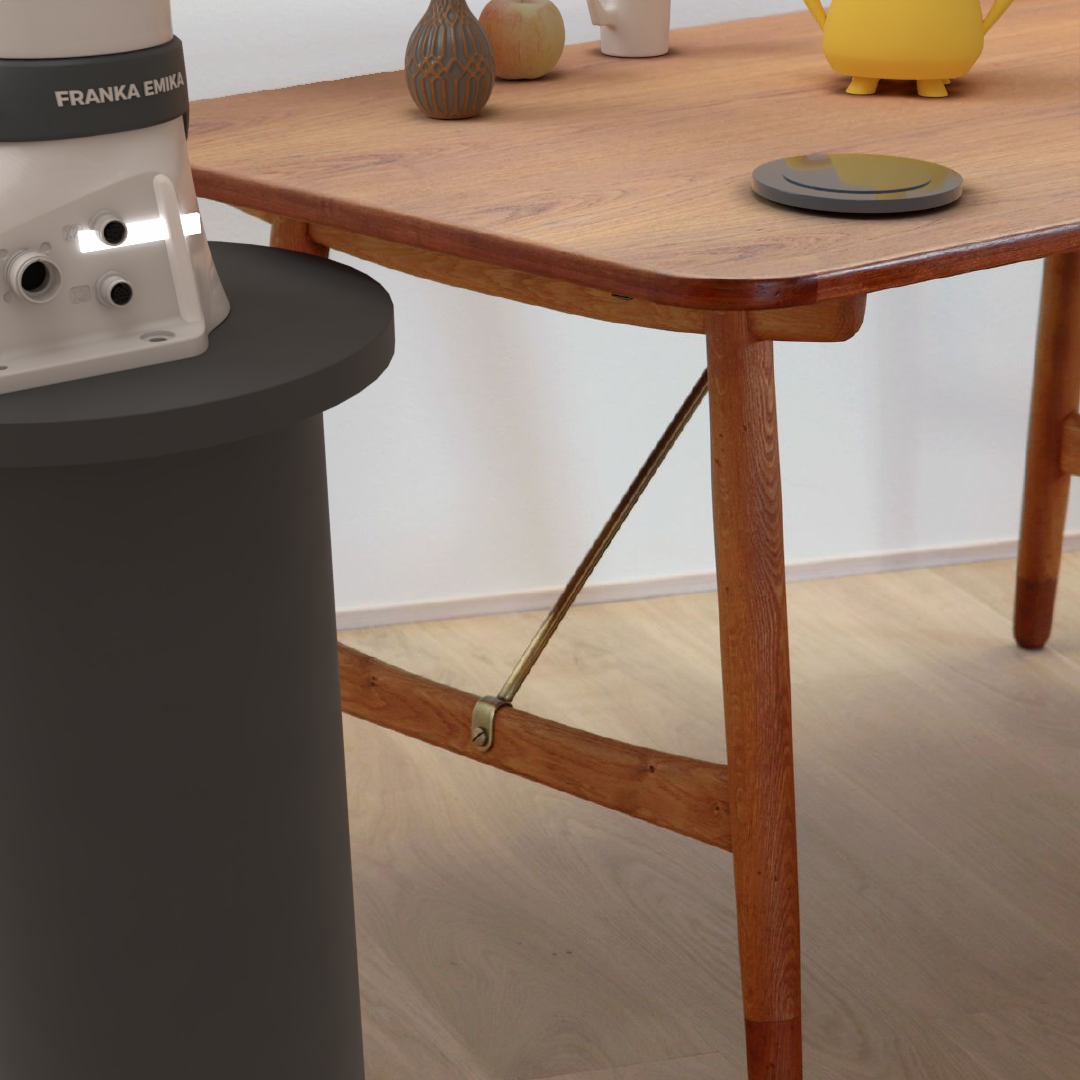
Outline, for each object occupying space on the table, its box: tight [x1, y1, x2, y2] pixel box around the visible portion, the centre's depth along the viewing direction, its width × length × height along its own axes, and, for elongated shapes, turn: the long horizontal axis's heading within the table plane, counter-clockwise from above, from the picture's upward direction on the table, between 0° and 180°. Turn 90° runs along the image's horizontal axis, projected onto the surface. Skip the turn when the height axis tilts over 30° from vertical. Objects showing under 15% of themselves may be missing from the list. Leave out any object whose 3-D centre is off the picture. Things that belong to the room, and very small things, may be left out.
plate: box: [751, 152, 964, 214], centre depth 108 cm, size 13×13×1 cm
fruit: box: [477, 0, 566, 80], centre depth 146 cm, size 8×7×8 cm
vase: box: [404, 0, 496, 120], centre depth 132 cm, size 7×7×9 cm
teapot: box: [802, 0, 1015, 98], centre depth 141 cm, size 14×14×12 cm
